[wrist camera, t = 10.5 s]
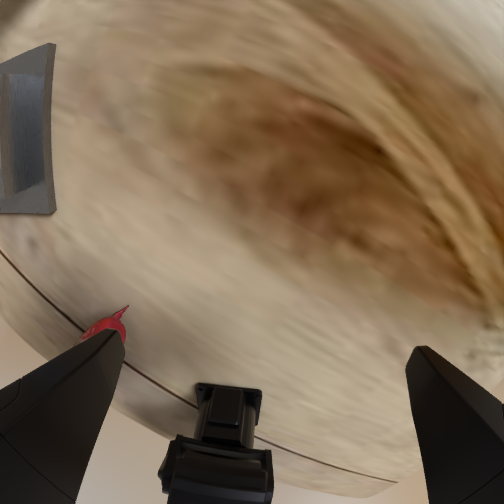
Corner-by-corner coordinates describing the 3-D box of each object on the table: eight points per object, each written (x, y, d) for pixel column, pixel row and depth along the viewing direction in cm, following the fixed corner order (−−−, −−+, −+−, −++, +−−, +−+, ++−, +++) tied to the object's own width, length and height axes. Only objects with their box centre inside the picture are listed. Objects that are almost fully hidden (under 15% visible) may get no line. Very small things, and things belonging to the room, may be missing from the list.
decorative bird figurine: (171, 290, 23) (122, 385, 14) (81, 366, 28) (44, 430, 19) (145, 264, 22) (81, 351, 13) (63, 349, 28) (21, 411, 19)
